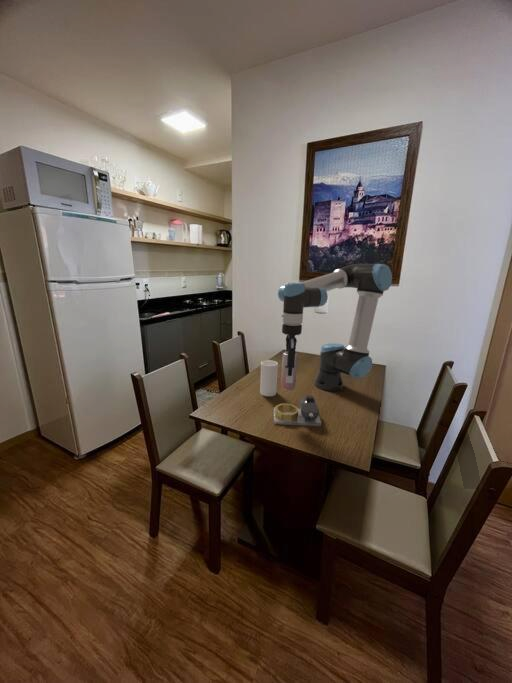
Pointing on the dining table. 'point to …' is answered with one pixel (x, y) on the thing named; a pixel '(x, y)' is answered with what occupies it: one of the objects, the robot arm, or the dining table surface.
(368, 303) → the robot arm
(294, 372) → the beverage can
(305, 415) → the motor unit
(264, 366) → the cup
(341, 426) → the dining table surface
